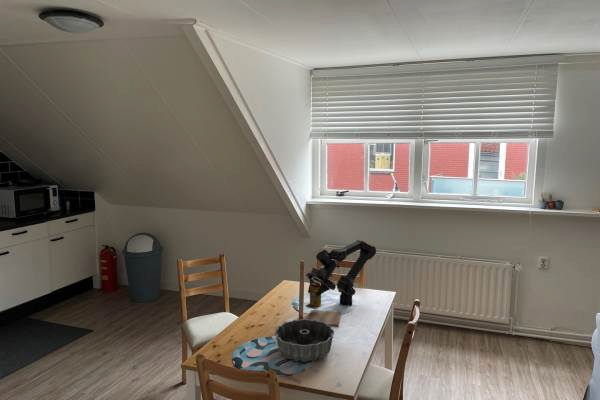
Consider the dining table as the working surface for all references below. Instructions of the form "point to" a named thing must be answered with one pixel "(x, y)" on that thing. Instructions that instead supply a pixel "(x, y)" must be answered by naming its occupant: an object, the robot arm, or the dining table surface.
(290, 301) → the dining table surface
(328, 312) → the walnut board
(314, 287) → the condiment
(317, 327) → the bundt pan
